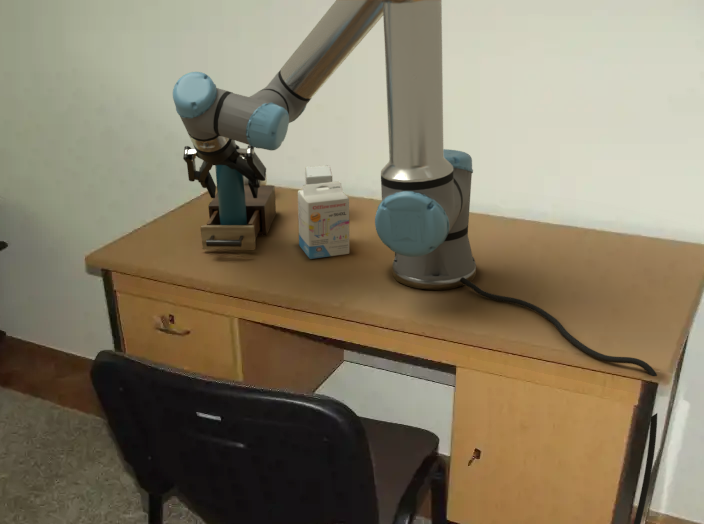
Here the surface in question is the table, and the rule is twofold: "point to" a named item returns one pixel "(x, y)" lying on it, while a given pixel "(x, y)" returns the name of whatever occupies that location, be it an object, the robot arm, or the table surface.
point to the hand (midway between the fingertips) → (234, 192)
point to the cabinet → (256, 205)
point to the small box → (318, 175)
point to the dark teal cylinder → (231, 196)
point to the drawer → (231, 232)
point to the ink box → (323, 220)
